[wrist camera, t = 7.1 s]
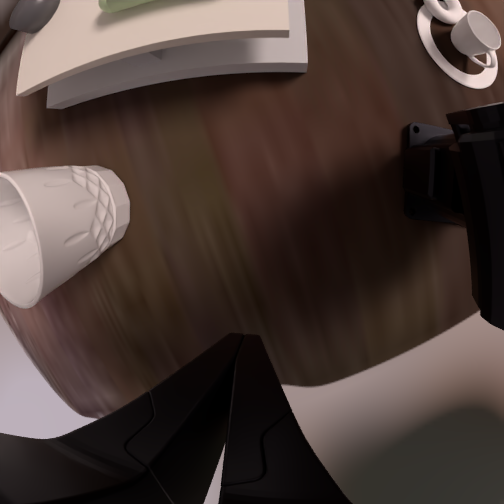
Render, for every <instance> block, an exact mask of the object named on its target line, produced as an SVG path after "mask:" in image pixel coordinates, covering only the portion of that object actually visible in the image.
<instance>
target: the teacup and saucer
mask: <svg viewBox="0 0 504 504" xmlns="http://www.w3.org/2000/svg"><path fill="white" fill-rule="evenodd" d="M423 1H424V5H423V6H422V7H421V8H420V10H419V12H418V15H417V27H418V32H419V35H420V38H421V40H422V42H423V44H424V46H425V48H426V50H427V51H428V53H429V54H430V56H431V57H432V59H433V60H434V61H435V62H436V64H437V65H438V66H439V67H440V68H441V69H442V70H443V71H444V72H445V73H446V74H447V75H449V76H450V77H451V78H452V79H454V80H455V81H457V82H459V83H460V84H462V85H464V86H467V87H470V88H474V89H483V88H486V87H488V86H490V85H491V84H492V83H493V81H494V80H495V78H496V75H497V67H498V66H497V57H496V53H495V50H496V49H498V48H499V47H500V45H501V38H500V35H499V32H498V30H497V29H496V27H495V25H494V24H493V23H492V22H491V20H490V19H489V18H487V17H486V16H485V15H484V14H482V13H480V12H478V11H474V10H472V11H469V12H468V13H466V12H465V11H464V10H462V7H461V5H460V3H459V1H458V0H444V1H445V2H443V1H437V0H423ZM433 16H434V17H436V18H437V19H438V20H440V21H442V22H444V23H446V24H456V25H455V26H454V27H453V29H452V31H451V41H452V43H453V45H454V46H455V48H456V49H457V50H458V51H459V52H461V53H462V54H465V55H467V56H468V57H469V58H470V59H471V60H472V61H473V62H475V63H476V64H478V65H480V66H482V67H485V70H484V71H483V72H482V73H480V74H478V75H469V74H466V73H463V72H461V71H459V70H458V69H456V68H455V67H454V66H452V65H451V64H450V63H449V62H448V61H447V60H446V59H445V58H444V57H443V56H442V54H441V53H440V52H439V50H438V49H437V47H436V45H435V43H434V41H433V39H432V36H431V32H430V22H431V19H432V17H433ZM484 53H486V54H487V65H486V64H483V63H482V62H480V61H479V60H477V59H476V58H475V57H474V56H475V55H480V54H484Z"/></svg>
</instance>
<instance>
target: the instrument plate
mask: <svg viewBox="0 0 504 504" xmlns="http://www.w3.org/2000/svg"><path fill="white" fill-rule="evenodd" d="M9 24H10V28H12V29H16V30H19V31H23V32H26V33H27V34H26V38H25V43H24V47H23V52H22V57H21V63H20V69H19V75H18V82H17V91H16V96H27V95H29V94H31V93H33V92H35V91H37V90H40V89H42V88H44V87H46V86H48V85H50V84H53V83H55V82H57V81H60V80H62V79H64V78H67V77H69V76H72V75H75V74H77V73H80V72H82V71H85V70H88V69H91V68H94V67H97V66H100V65H103V64H106V63H109V62H113V61H116V60H119V59H123V58H126V57H130V56H134V55H138V54H142V53H146V52H151V51H155V50H160V49H165V48H170V47H176V46H181V45H188V44H194V43H202V42H210V41H219V40H231V39H246V38H289V12H288V0H20V1H19V2H18V4H17V5H16V7H15V8H14V10H13V12H12V15H11V18H10V22H9Z"/></svg>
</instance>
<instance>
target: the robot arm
mask: <svg viewBox="0 0 504 504" xmlns="http://www.w3.org/2000/svg"><path fill="white" fill-rule="evenodd" d="M446 117H447V120H448V122H449V124H451V127H452V130H449V129H445V128H441V127H436V126H432V125H427V124H422V123H417V122H413V123H411V124H409V125H408V129H407V134H408V140H407V149H406V150H405V151H404V175H403V188H404V189H405V191H406V192H405V204H404V214H405V215H406V216H407V217H408V218H410V219H417V220H428V221H439V222H449V223H457V224H459V225H461V226H463V227H465V228H466V229H467V236H468V244H469V253H470V265H471V280H472V296H473V298H474V300H475V302H476V304H477V305H478V307H479V308H480V315H481V317H482V318H484V319H485V320H486V321H487V322H489V323H490V324H492V325H493V326H495V327H498V328H500V329H502V330H504V102H500V103H494V104H489V105H484V106H479V107H475V108H470V109H466V110H461V111H457V112H453V113H448V114H446ZM413 127H416V128H417V133H415V132H414V131H413ZM411 208H413V210H414V211H413V213H412V214H410V213H409V210H410V209H411ZM225 442H226V443H225ZM224 445H225V453H224V461H223V470H222V479H221V490H220V497H219V503H218V504H353V503H352V502H351V501H350V500H349V499H348V498H347V497H346V496H345V494H344V493H343V492H342V490H341V489H340V488H339V486H338V485H337V484H336V482H335V481H334V480H333V478H332V477H331V475H330V474H329V473H328V471H327V470H326V469H325V467H324V466H323V464H322V463H321V461H320V460H319V458H318V457H317V456H316V454H315V453H314V451H313V449H312V448H311V446H310V445H309V443H308V441H307V440H306V438H305V436H304V434H303V433H302V430H301V429H300V426H299V425H298V422H297V420H296V418H295V416H294V414H293V412H292V409H291V407H290V405H289V402H288V400H287V398H286V396H285V393H284V391H283V389H282V386H281V384H280V382H279V380H278V377H277V375H276V373H275V370H274V368H273V366H272V363H271V361H270V359H269V356H268V354H267V352H266V349H265V347H264V344H263V342H262V340H261V337H260V336H259V335H253V334H246V335H245V336H244V334H240V333H229V334H228V335H226V336H225V337H224V338H222V339H221V340H220V341H218V342H217V343H216V344H214V345H213V346H211V347H210V348H209V349H207V350H206V351H205V352H203V353H202V354H200V355H199V356H198V357H196V358H195V359H193V360H192V361H191V362H189V363H188V364H186V365H185V366H183V367H182V368H181V369H179V370H178V371H176V372H175V373H173V374H172V375H171V376H169V377H168V378H166V379H165V380H163V381H162V382H160V383H159V384H157V385H156V386H154V387H153V388H151V389H150V390H149V392H145V393H144V394H142V395H141V396H139V397H138V398H136V399H135V400H133V401H131V402H130V403H128V404H126V405H125V406H123V407H122V408H120V409H118V410H116V411H114V412H112V413H110V414H108V415H106V416H104V417H102V418H100V419H98V420H96V421H94V422H92V423H90V424H88V425H85V426H83V427H81V428H79V429H77V430H74V431H72V432H70V433H68V434H65V435H63V436H60V437H56V438H50V439H34V438H27V437H20V436H14V435H9V434H4V433H0V504H203V503H204V501H205V498H206V496H207V493H208V490H209V487H210V485H211V482H212V479H213V476H214V473H215V471H216V468H217V465H218V462H219V459H220V457H221V454H222V451H223V448H224Z"/></svg>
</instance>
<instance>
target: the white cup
mask: <svg viewBox="0 0 504 504" xmlns="http://www.w3.org/2000/svg"><path fill="white" fill-rule="evenodd" d="M129 222H130V200H129V198H128V195H127V192H126V189H125V186H124V183H123V182H122V181H121V180H120V179H119V178H118V177H117V176H116V174H115V173H114V172H113V171H112V170H109V169H106V168H103V167H101V166H52V167H40V168H30V169H21V170H13V171H5V172H0V293H1V294H2V296H3V297H4V298H5V299H6V300H8V301H9V302H10V303H11V304H13V305H15V306H17V307H19V308H24V309H27V308H31V307H33V306H34V305H35V304H37V303H38V302H39V301H40V300H42V299H43V298H44V297H45V296H47V295H48V294H49V293H51V292H52V291H53V290H55V289H56V288H57V287H59V286H60V285H61V284H63V283H64V282H65V281H67V280H68V279H70V278H71V277H72V276H74V275H75V274H77V273H78V272H79V271H80V270H81V269H83V268H84V267H86V266H87V265H88V264H90V263H91V262H92V261H93V260H95V259H96V258H98V257H99V256H100V255H101V253H102V252H104V251H105V250H107V249H109V248H110V247H111V246H113V245H114V244H115V243H116V242H118V241H119V240H120V239H122V238H123V236H124V233H125V231H126V229H127V226H128V224H129Z"/></svg>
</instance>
